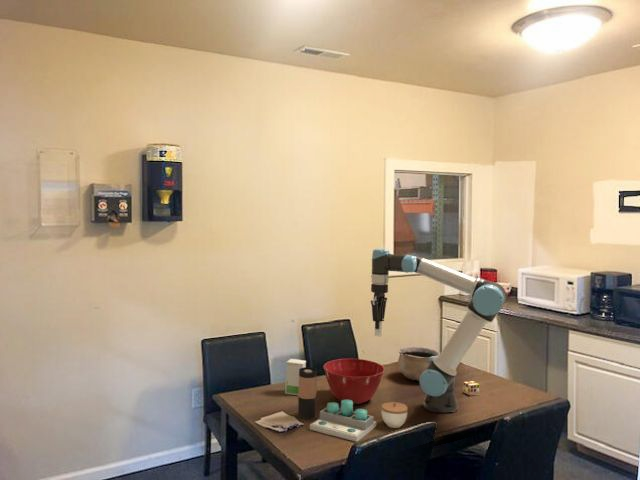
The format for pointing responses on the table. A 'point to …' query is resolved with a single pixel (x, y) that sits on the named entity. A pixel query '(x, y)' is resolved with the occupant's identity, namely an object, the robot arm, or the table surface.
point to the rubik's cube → (471, 387)
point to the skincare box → (293, 375)
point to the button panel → (343, 425)
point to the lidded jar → (394, 414)
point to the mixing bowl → (353, 379)
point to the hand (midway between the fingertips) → (377, 335)
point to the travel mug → (307, 392)
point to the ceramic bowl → (414, 361)
